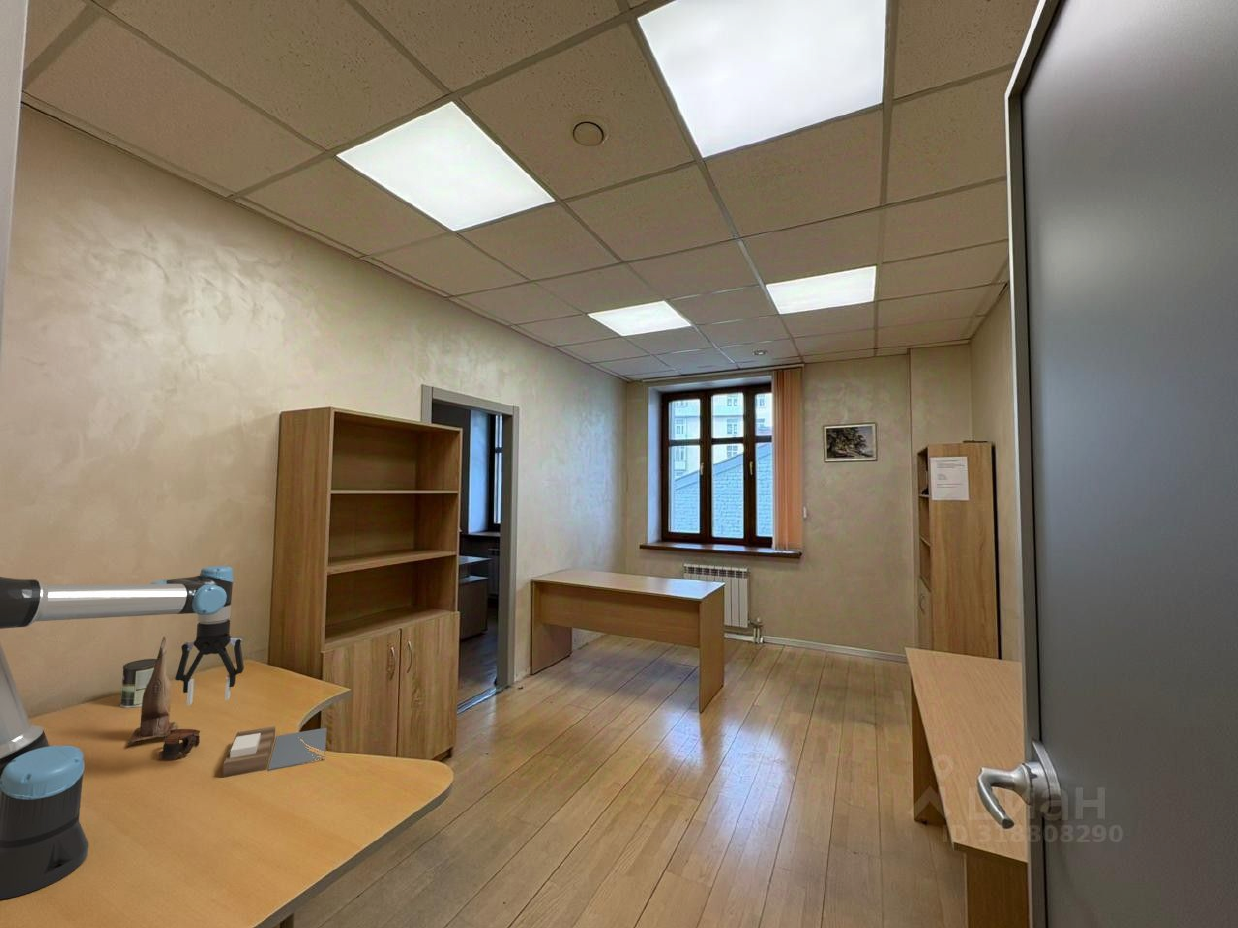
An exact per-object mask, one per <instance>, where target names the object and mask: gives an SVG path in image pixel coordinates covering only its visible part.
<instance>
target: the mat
mask: <svg viewBox="0 0 1238 928" xmlns="http://www.w3.org/2000/svg"><path fill="white" fill-rule="evenodd" d="M327 728H328V727H323V728H322V727H321V728H316V729H310V730H303V731H298V732H293V733H284V734H280V735H276V737H275V740H274V744H273V748H272V752H271V755H270V759H269V763H268V766H267V771H268V772H269V771H270V772H271V771H274V770H278V769H279V770H280V769H284V768H290V767H295V766H300V765H299V764H301V765H303V764H302V763H306V764H308V763H307V762H311V761H315V759H316V760H318V759H319V760H320V759H323V757H324V758H325V756H322V755H319V754H316V753H315V752H312V751H309V749H307V748H309V747H308V746H306V745H305V744H307V745H309V746H311V747H314V748H317V749H319V750H321V751H324V752H325V753H326V744H327V743H326V742H327V741H326V740H327ZM298 737H299V738H298ZM300 739H302V740H303V741H304V743H305V744H304V743H303V742H302V741H300ZM305 747H307V748H305ZM310 749H311V748H310ZM308 752H309V753H308ZM317 752H318V751H317ZM312 754H313V756H312ZM317 756H322V757H321V758H320V757H317ZM313 757H314V758H313ZM311 763H312V762H311Z"/></svg>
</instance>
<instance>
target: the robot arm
mask: <svg viewBox="0 0 1238 928" xmlns="http://www.w3.org/2000/svg"><path fill="white" fill-rule="evenodd" d="M233 584H234V570H233V567H231V566H227V565H216V566H215V565H214V566H207V567H204V568H201V570H200V573H199V575H195V576H189V577H181V578H171V579H162V580H156V581H153V582H150V583H84V584H83V583H80V584H78V583H73V584H72V583H69V584H68V583H64V584H63V583H61V584H59V583H57V584H56V583H55V584H53V583H52V584H49V583H45V584H44V582H42V581H41V580H40V579H34V578H33V579H31V578H29V579H28V578H27V579H21V578H11V577H5V576H4V577H3V576H0V630H2V629H3V630H4V629H13V628H27V627H30V626H31V625H32V624H34V623H35V622H48V621H64V620H65V621H68V620H83V619H85V620H86V619H106V618H124V617H126V618H127V617H140V616H142V617H143V616H159V615H161V616H162V615H183V614H186V615H187V614H196V615H197V622H198V623H197V626H196V637H195V640H194V641H190V642H188V641H186V642H184V643H183V644H182V645H181V646H180V647H181V656H180V660H179V664H178V667H177V671H176V674H175V678H174V679H175V681H182V682H183V685H182V692H183V694H186V695H187V696H186V707H187V706H191V704H192V703H193V699H194V686H195V678H192V676H193V675H194V672H195V671H196V670H197V667H198V666H199V664H200V662H201V660H202V659H203V657H204V656H208V655H217V654H218V655H219V657H220V658H221V660H222V663H223V665H224V667H225V669H226V671H227V673H228V674H227V676H226V680H225V692H224V693H225V694H224V695H225V696H224V701H228V700H229V699H230V697H231V688H234V686H235V684H236V676H237V675H238V674H242V673H243V671H244V669H245V666H244V661H243V660H244V659H243V653H242V647H241V646H242V643H243V638H242V637H238V638H235V637H231V635H230V634H231V633H230V632H231V631H230V630H231V629H230V628H231V620H230V618H231V616H232V615H231V614H232V601H233V599H232V597H233V587H234V586H233ZM230 643H231V646H232V647H233V650H234V658H235V659H234V660H235V665H236V667H235V666H234V664H233V661H232V660H231V657H230V655H229V653H228V650H227V648H226V647H227V646H228V645H229V644H230ZM193 647H195V648H196V649H197V650H198V651H199V652H198V653H197V655H196V657H195V659H194V660H193V662H192V663H191V666H189V668H188V671H187V672H186V674H185V671H186V666H187V662H188V660H189V659H188V658H189V656H190V652H191V651H192V649H193ZM85 764H86V763H85V761H84V753H83V751H82V750H81V749H80V748H78V747H76V746H73V745H62V746H61V745H60V744H59V745H57V744H56V745H51V746H50V744H49V741H48V739H47V735H46V733H45V730H44V727H43V726H41V725H38V724H37V725H36V724H31V723H30V720H29V718H28V714H27V711H26V709H25V706H24V704H23V701H22V698H21V695H20V692H19V689H18V687H17V685H16V681H15V679H14V676H13V674H12V671H11V668H10V666H9V663H8V660H7V658H6V655H5V651H4V649H3V646H2V643H1V642H0V900H6V899H11V898H16V897H19V896H24V895H26V894H29V893H33V892H35V891H38V890H40V889H43V888H45V887H47V886H49V885H51V884H52V885H53V884H54V883H56V882H58V881H60V880H61V879H63V878H65V877H67V876H68V875H70V874H71V873H73V872H74V871H75V870H76V869H78V868H79V867H81V865H82V864H83V863H84V862H85V861H86V860H87V857H88V853H89V841H88V838H87V836H86V833H85V832H84V831H85V830H84V828H83V827H82V824H81V822H80V813H81V812H80V811H81V802H82V791H83V782H84V781H83V779H84V772H85V769H86V768H85Z"/></svg>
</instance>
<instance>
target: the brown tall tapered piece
mask: <svg viewBox="0 0 1238 928" xmlns="http://www.w3.org/2000/svg"><path fill="white" fill-rule="evenodd" d="M158 650H159V651H158V655H157V657H156V659H157V660H156V663H155V666H154V670H153V673H152V676H151V679H150V681H149V683H148V685H147V687H146V689H145V691H144V694H143V700H142V706H141V712H140V714H141V715H140V726H139V727H137V728H135V729H134V730H133V733H132V735H131V737H130V739H129V740H128V742H127V744H126V746H125V750H127V749H128V748H129V747H130V746H131V745H132V744H134V743H135V742H136V741H137V742H138V741H142V740H147V739H148V740H149V739H154V738H160V737H161V738H162V737H167V736H168V735H169V734H170V733H171V732H170V731H171V730H174V729H179V728H178V727H179V725H178V724H179V723H178V722H176V721H172V722H170V714H171V702H172V697H171V696H172V684H171V681H170V679H169V676H167V675H168V674H167V653H168V637H167V636H163V637H162V639H161V643H160V646H159V649H158Z"/></svg>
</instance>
